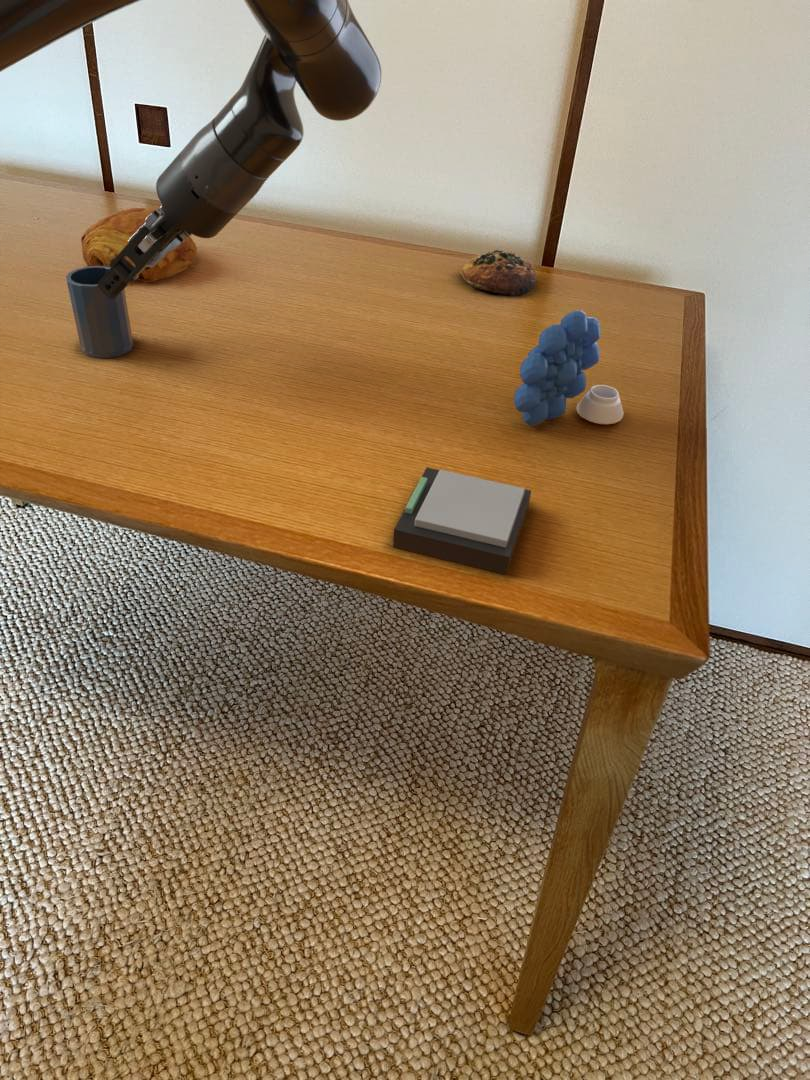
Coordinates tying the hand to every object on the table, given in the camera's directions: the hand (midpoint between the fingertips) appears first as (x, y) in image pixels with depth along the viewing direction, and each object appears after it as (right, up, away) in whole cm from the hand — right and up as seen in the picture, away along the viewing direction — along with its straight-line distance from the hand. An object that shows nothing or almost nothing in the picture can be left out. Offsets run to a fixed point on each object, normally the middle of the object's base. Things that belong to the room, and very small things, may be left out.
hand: (123, 276), depth 89 cm
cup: (-4, -6, +6) cm, 9 cm away
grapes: (+46, -15, 0) cm, 48 cm away
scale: (+36, -28, -16) cm, 48 cm away
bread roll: (+44, +8, +29) cm, 53 cm away
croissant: (-6, +10, +26) cm, 28 cm away
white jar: (+52, -15, 0) cm, 54 cm away
